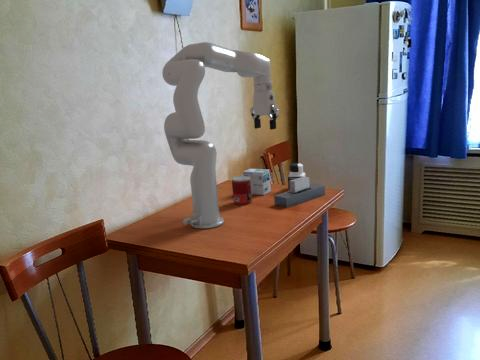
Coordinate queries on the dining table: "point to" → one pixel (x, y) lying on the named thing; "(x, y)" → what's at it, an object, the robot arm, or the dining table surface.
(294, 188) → the clip
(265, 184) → the light bulb box
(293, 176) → the medicine bottle
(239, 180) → the canned food
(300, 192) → the grey slotted block
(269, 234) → the dining table surface
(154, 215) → the dining table surface
